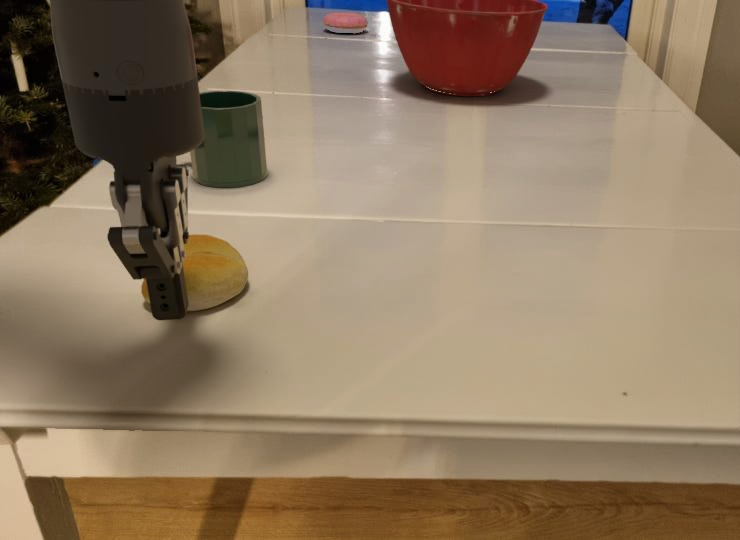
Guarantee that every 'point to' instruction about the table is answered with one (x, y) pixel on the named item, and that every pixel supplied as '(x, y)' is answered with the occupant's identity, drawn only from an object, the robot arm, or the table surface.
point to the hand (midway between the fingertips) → (171, 314)
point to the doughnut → (345, 20)
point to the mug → (230, 140)
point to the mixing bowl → (465, 41)
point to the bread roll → (210, 272)
